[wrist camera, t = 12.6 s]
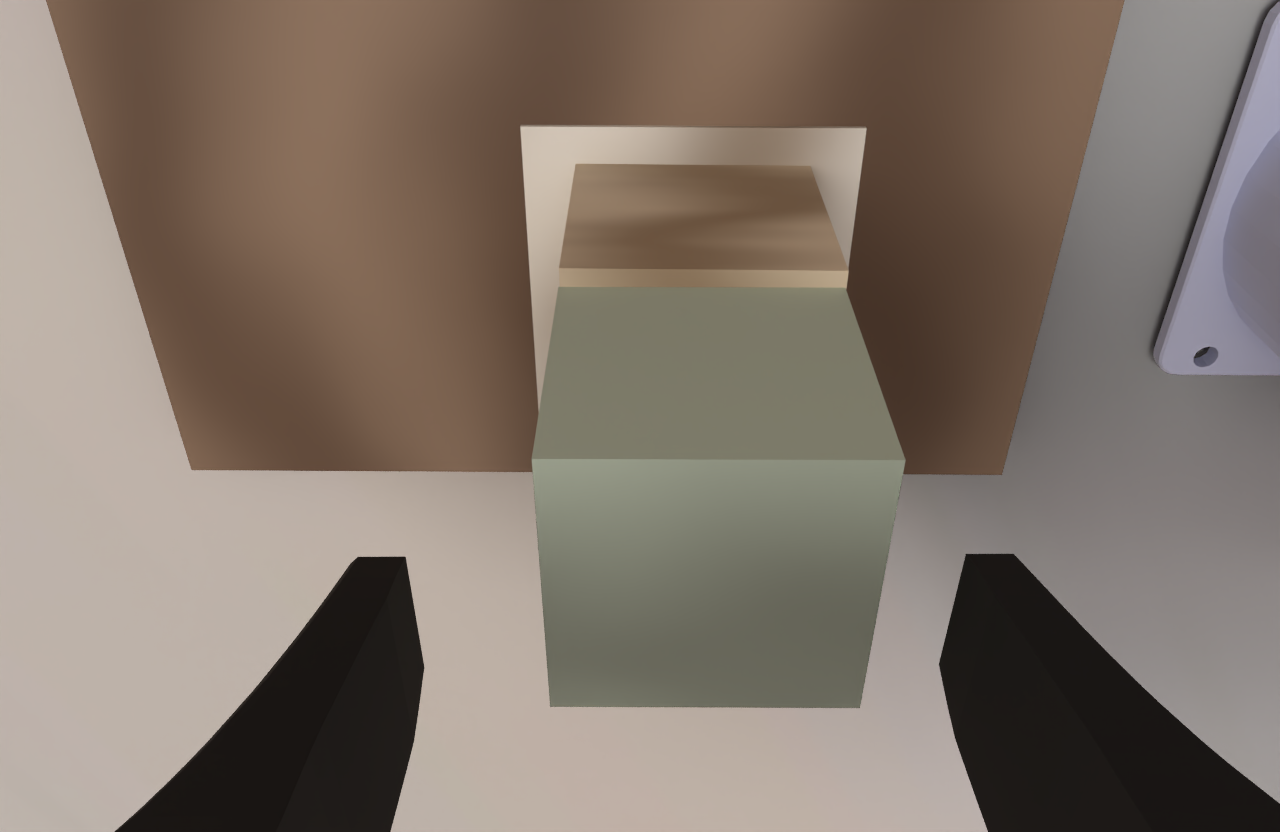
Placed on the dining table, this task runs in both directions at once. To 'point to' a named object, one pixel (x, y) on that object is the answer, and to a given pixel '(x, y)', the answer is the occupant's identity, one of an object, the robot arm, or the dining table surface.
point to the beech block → (698, 228)
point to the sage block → (711, 498)
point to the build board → (560, 196)
